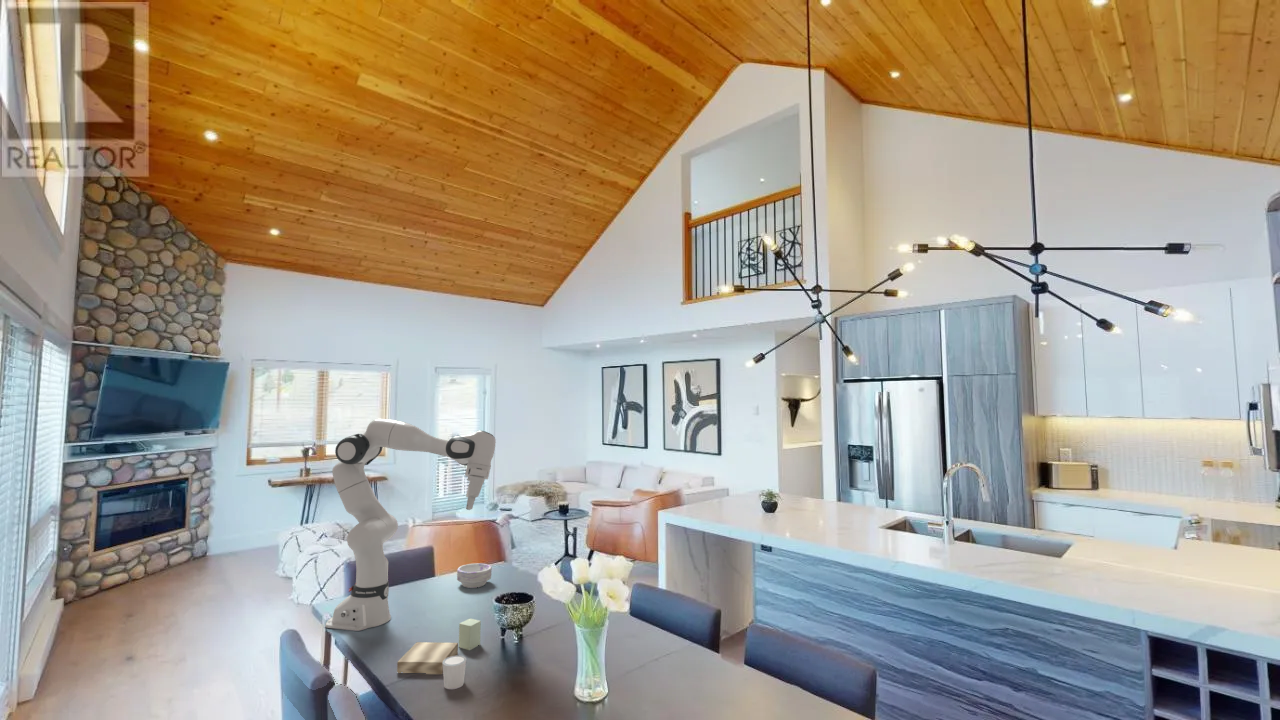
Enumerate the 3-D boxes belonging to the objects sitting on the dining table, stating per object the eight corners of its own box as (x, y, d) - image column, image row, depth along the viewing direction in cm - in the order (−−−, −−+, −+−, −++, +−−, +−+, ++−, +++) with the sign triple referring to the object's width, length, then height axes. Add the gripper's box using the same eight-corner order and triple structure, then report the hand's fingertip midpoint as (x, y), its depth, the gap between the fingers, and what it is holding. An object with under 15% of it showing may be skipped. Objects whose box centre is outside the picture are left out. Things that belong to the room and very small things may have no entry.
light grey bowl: (497, 581, 262) (497, 563, 262) (480, 591, 247) (481, 573, 248) (468, 578, 265) (468, 561, 266) (449, 589, 251) (450, 571, 251)
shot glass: (470, 680, 169) (471, 657, 169) (456, 692, 162) (456, 667, 163) (451, 677, 171) (452, 653, 172) (436, 688, 165) (437, 663, 165)
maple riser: (397, 675, 173) (397, 661, 174) (416, 654, 187) (416, 642, 188) (441, 675, 173) (442, 662, 173) (457, 655, 187) (457, 642, 187)
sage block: (458, 647, 192) (459, 623, 192) (469, 641, 196) (469, 618, 197) (469, 650, 190) (470, 626, 190) (480, 644, 194) (480, 620, 195)
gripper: (467, 473, 225) (459, 508, 220) (470, 469, 206) (461, 507, 202) (483, 476, 226) (475, 511, 222) (487, 472, 208) (479, 510, 203)
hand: (468, 509), depth 212 cm, fingers open, 8 cm apart
